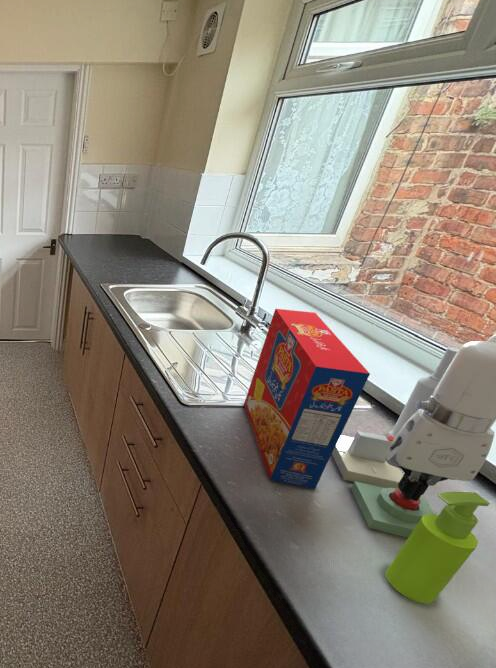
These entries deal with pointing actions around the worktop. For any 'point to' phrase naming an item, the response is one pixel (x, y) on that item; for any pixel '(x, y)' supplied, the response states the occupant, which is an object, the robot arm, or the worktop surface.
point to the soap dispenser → (436, 548)
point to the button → (404, 501)
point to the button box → (387, 510)
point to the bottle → (424, 390)
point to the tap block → (364, 467)
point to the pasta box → (301, 396)
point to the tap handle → (370, 446)
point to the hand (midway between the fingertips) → (407, 494)
